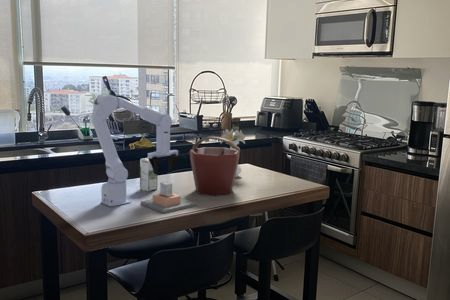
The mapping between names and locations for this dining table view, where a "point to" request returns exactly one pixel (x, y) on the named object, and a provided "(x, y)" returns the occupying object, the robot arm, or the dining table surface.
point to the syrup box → (147, 176)
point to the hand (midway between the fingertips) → (163, 173)
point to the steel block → (166, 189)
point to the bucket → (214, 168)
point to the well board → (168, 203)
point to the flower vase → (235, 138)
